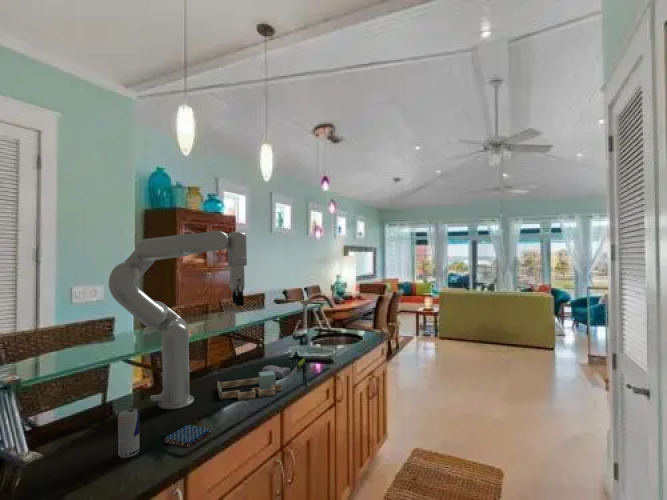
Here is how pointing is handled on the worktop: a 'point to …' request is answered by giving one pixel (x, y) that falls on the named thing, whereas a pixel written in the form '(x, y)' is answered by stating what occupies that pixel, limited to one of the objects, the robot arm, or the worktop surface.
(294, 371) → the kitchen knife
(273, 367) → the stone block
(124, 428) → the energy drink
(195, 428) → the woven mat
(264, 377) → the block
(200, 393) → the worktop surface
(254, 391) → the tray
